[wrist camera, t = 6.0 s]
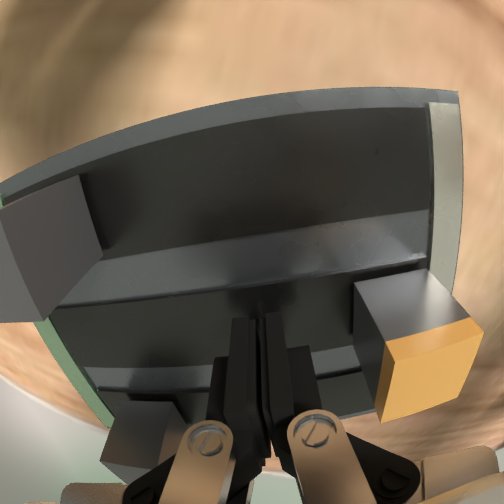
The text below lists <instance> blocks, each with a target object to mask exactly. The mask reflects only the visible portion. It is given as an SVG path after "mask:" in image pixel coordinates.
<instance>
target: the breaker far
mask: <svg viewBox="0 0 504 504" xmlns="http://www.w3.org/2000/svg"><path fill="white" fill-rule="evenodd" d="M188 429H189V428H188V426H187V425H186V423H185V422H184V420H183V418H182V417H181V415H180V414H179V412H178V410H177V409H176V407H175V405H174V404H173V402H153V401H128V400H121V403H120V406H119V408H118V411H117V413H116V416H115V419H114V421H113V424H112V427H111V430H110V432H109V435H108V438H107V441H106V443H105V446H104V449H103V452H102V455H101V459H100V462H102V464H104V465H105V466H106V467H107V468H108V469H109V470H111V471H112V472H113V473H114V474H115V475H116V476H118V477H119V478H120V479H122V480H123V481H124V482H125V483H126V484H128V485H129V484H131V483H132V482H133V481H135V480H136V479H138V478H139V477H141V476H143V475H144V474H146V473H147V472H149V471H150V470H152V469H153V468H155V467H157V466H158V465H160V464H161V463H163V462H164V461H166V460H167V459H168V458H170V457H171V456H173V455H174V454H176V453H177V451H178V448H179V445H180V443H181V440H182V437H183V435H184V434H185V432H186V431H187V430H188Z"/></svg>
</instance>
